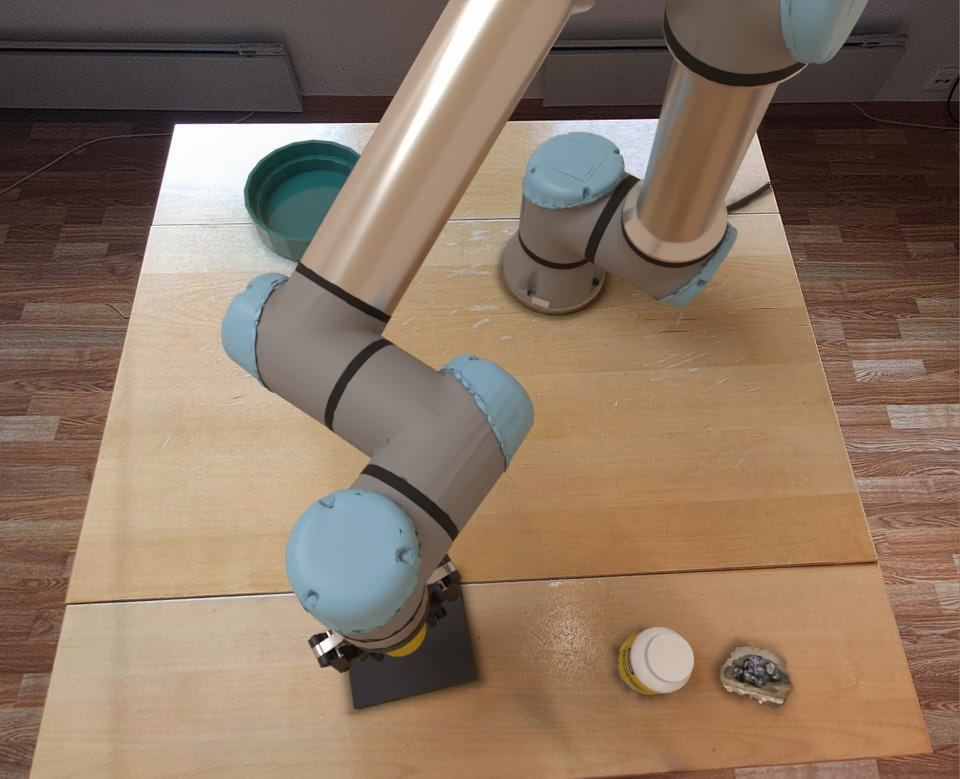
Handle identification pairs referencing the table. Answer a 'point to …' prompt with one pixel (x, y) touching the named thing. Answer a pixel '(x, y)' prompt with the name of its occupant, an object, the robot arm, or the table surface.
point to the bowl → (296, 192)
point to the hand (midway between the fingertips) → (401, 631)
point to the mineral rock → (756, 675)
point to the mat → (418, 663)
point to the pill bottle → (655, 661)
